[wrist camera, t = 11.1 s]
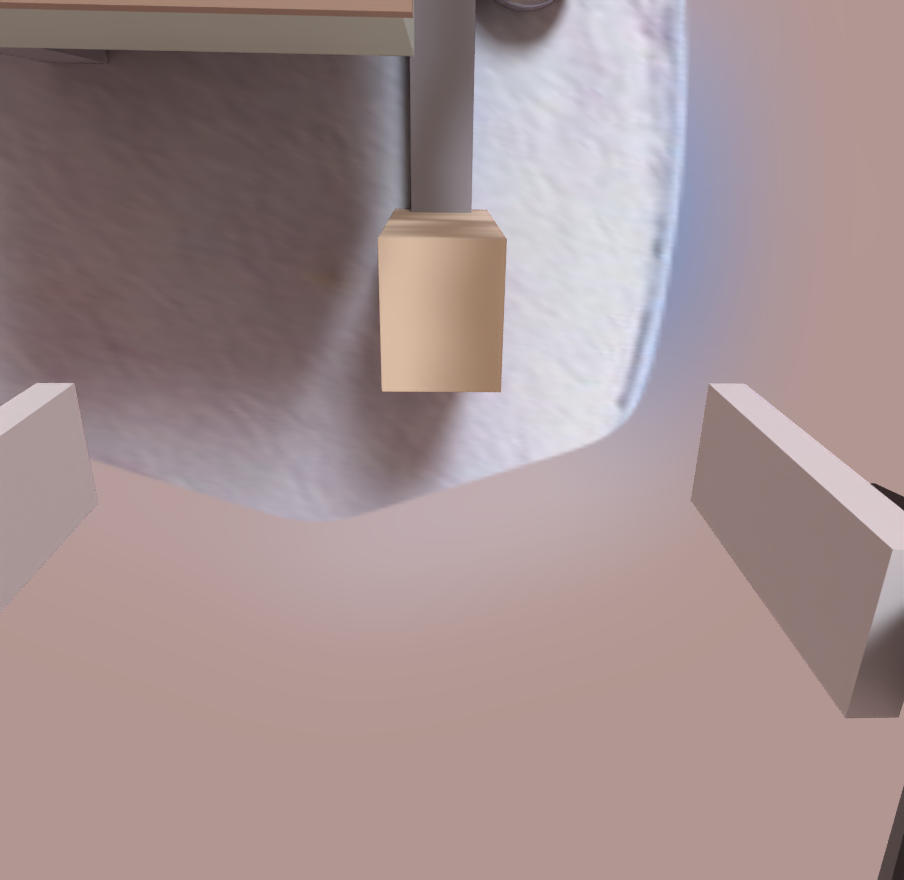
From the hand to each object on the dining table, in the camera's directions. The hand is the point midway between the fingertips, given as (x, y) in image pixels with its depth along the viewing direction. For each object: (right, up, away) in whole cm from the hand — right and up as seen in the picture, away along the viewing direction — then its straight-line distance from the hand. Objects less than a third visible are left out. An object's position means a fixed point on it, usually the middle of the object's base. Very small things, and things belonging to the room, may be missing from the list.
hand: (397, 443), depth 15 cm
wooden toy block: (+1, +15, +14) cm, 21 cm away
